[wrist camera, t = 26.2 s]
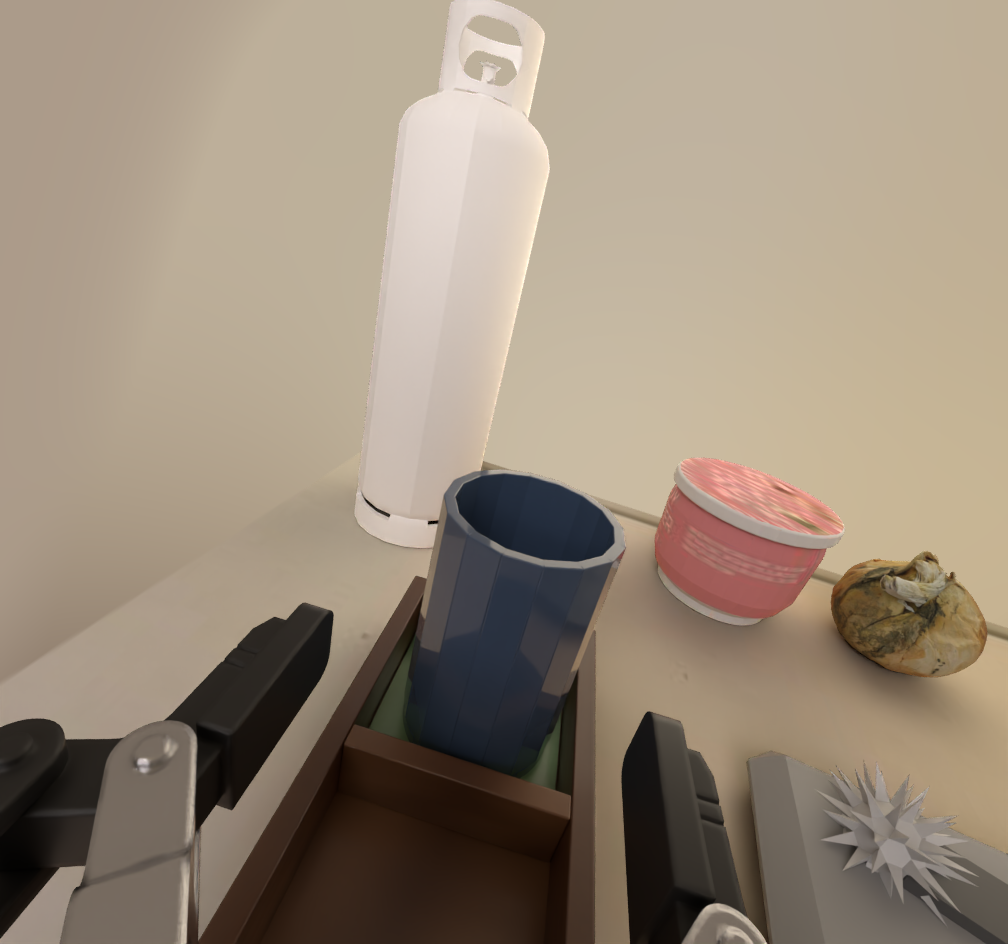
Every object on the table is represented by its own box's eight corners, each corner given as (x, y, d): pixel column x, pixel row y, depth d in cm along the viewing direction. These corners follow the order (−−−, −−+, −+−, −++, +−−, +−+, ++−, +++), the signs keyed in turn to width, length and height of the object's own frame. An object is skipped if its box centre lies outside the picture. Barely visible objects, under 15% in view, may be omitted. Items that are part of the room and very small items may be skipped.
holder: (82, 1221, 9) (58, 1173, 8) (406, 622, 25) (415, 574, 24) (542, 1416, 9) (595, 1396, 7) (577, 675, 25) (596, 630, 24)
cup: (377, 756, 18) (418, 529, 14) (430, 640, 24) (470, 455, 20) (539, 812, 17) (631, 593, 13) (553, 680, 23) (621, 498, 19)
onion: (973, 725, 28) (1069, 619, 25) (825, 662, 30) (896, 558, 27) (923, 644, 35) (994, 553, 32) (805, 598, 37) (859, 508, 34)
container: (731, 660, 28) (795, 548, 25) (609, 556, 36) (646, 459, 33) (813, 620, 34) (873, 525, 31) (694, 537, 42) (732, 454, 39)
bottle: (339, 535, 31) (400, -49, 19) (368, 479, 38) (424, 31, 27) (466, 557, 32) (593, 13, 20) (469, 498, 39) (565, 74, 28)
